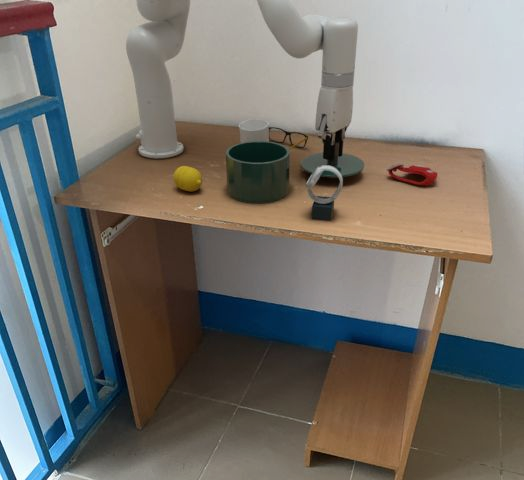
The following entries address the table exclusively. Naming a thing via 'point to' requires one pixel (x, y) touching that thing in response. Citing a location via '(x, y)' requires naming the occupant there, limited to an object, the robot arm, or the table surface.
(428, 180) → the tracker holder
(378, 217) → the table surface
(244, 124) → the white cup
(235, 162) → the pot
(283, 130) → the eyeglasses
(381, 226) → the table surface
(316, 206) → the watch
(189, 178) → the lemon
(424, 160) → the table surface
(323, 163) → the lid
